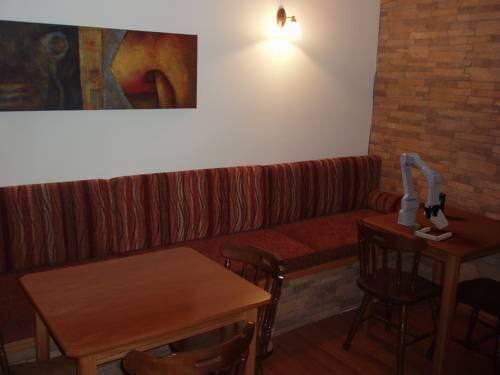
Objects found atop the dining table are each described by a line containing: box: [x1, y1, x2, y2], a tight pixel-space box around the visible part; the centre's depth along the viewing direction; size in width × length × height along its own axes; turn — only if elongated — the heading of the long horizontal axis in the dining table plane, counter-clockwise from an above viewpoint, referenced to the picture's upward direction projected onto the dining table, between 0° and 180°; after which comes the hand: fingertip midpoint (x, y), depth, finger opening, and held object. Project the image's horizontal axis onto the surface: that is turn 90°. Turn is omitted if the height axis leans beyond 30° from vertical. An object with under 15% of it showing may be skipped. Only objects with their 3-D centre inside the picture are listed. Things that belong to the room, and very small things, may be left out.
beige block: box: [408, 223, 421, 234], centre depth 299 cm, size 4×4×4 cm
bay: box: [413, 226, 453, 242], centre depth 294 cm, size 14×16×2 cm
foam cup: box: [423, 207, 449, 230], centre depth 304 cm, size 10×9×13 cm
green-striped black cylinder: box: [431, 192, 447, 216], centre depth 336 cm, size 10×10×15 cm
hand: (431, 217), depth 296 cm, fingers open, 7 cm apart
